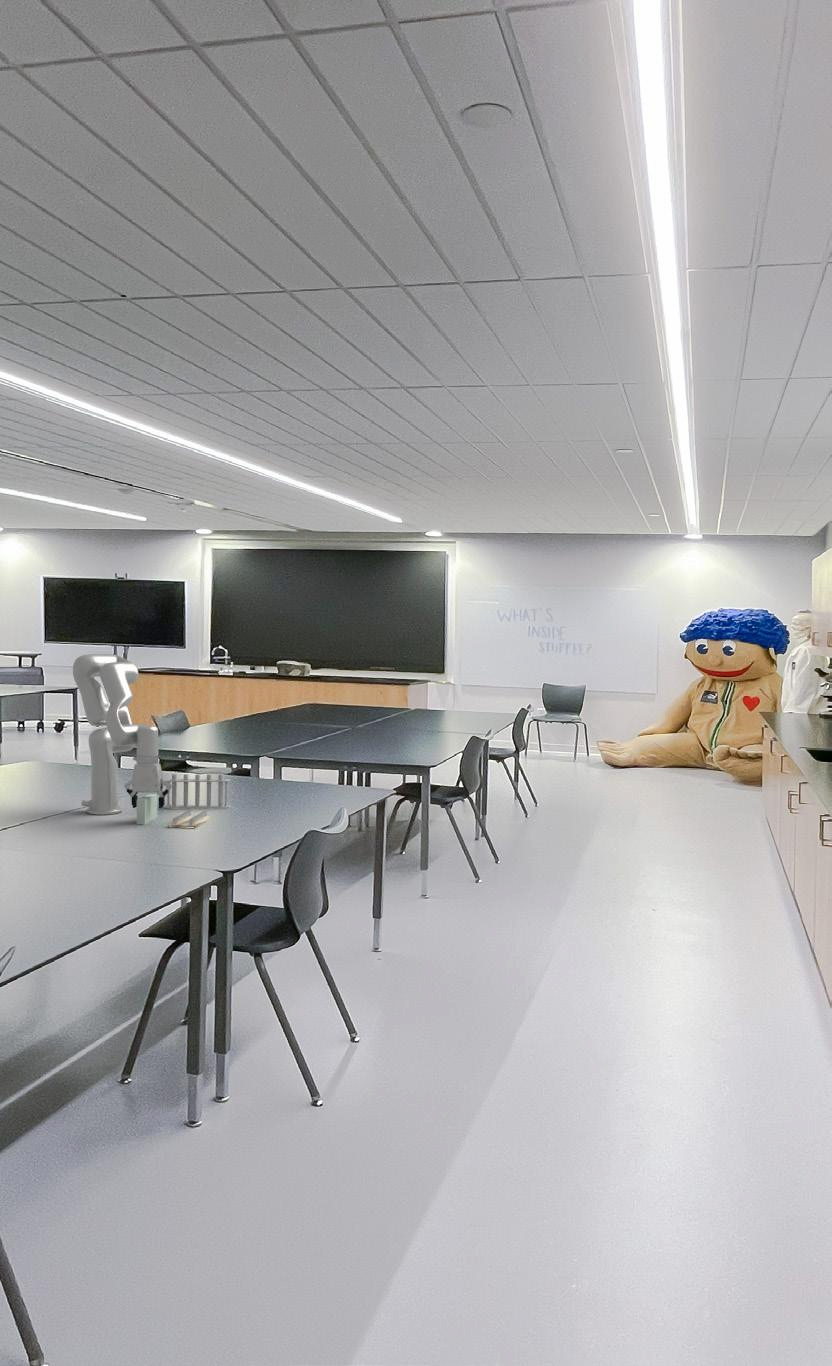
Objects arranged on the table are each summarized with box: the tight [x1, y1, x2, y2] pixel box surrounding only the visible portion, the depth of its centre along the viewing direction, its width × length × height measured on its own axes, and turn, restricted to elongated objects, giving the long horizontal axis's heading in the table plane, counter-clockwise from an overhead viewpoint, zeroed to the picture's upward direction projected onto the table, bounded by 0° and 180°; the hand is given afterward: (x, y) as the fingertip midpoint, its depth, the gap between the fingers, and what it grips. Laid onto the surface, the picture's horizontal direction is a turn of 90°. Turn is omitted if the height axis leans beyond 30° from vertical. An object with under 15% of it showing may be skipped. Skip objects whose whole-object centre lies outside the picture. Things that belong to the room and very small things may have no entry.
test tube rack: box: [163, 773, 231, 809], centre depth 385 cm, size 25×4×13 cm, turn 97°
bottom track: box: [167, 810, 212, 829], centre depth 355 cm, size 10×18×3 cm, turn 174°
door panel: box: [136, 793, 158, 825], centre depth 357 cm, size 3×12×9 cm, turn 174°
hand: (148, 807), depth 356 cm, fingers open, 9 cm apart
